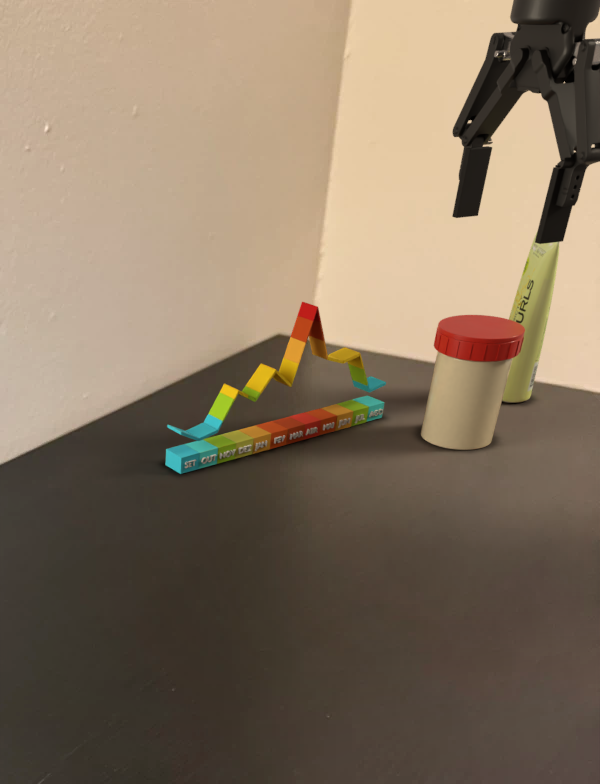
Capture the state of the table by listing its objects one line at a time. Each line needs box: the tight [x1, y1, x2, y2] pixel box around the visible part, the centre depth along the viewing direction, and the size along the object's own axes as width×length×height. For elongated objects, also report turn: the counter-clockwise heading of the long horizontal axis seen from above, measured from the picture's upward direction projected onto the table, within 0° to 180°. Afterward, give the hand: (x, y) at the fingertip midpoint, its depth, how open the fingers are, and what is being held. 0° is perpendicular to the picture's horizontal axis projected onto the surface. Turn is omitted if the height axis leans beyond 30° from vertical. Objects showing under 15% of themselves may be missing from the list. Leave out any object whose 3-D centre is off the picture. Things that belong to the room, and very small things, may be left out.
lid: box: [433, 314, 525, 362], centre depth 109 cm, size 9×9×2 cm
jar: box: [420, 351, 513, 451], centre depth 112 cm, size 8×8×12 cm
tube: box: [502, 232, 560, 404], centre depth 120 cm, size 6×5×20 cm
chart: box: [165, 301, 387, 475], centre depth 112 cm, size 30×3×15 cm, turn 120°
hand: (504, 228), depth 102 cm, fingers open, 13 cm apart
